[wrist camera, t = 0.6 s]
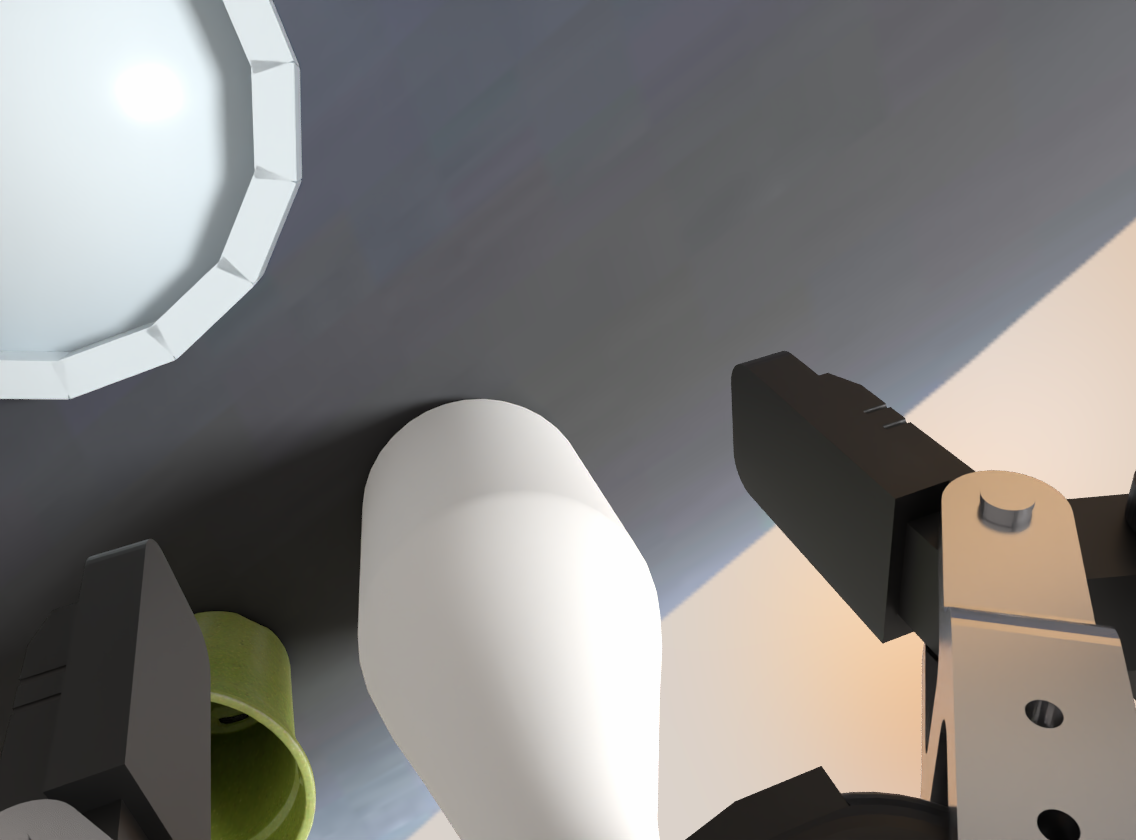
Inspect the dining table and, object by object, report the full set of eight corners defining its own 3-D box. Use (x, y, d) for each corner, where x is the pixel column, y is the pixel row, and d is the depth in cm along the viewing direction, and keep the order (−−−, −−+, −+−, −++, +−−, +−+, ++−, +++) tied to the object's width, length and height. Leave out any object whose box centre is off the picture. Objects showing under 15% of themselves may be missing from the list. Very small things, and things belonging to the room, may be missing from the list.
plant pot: (147, 789, 40) (89, 954, 32) (63, 611, 37) (-25, 742, 29) (353, 726, 41) (347, 868, 33) (289, 547, 38) (266, 656, 30)
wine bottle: (622, 499, 41) (1172, 1297, 13) (464, 634, 41) (655, 1699, 13) (486, 346, 37) (819, 962, 9) (315, 493, 38) (137, 1515, 10)
